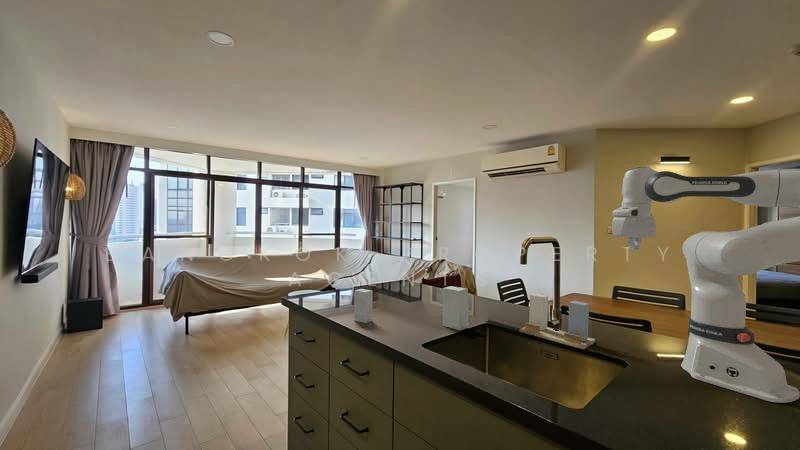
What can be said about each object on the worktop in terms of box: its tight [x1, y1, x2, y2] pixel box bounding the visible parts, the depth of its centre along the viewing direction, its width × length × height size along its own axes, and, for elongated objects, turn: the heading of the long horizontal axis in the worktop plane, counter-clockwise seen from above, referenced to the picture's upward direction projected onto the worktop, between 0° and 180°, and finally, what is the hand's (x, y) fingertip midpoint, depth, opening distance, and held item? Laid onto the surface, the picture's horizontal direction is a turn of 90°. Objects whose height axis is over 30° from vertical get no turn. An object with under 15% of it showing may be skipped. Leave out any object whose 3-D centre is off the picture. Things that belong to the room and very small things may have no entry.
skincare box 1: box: [353, 288, 374, 324], centre depth 136 cm, size 6×4×12 cm
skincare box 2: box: [441, 285, 469, 331], centre depth 131 cm, size 8×6×15 cm
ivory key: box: [528, 293, 549, 330], centre depth 129 cm, size 4×5×12 cm
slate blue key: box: [567, 300, 590, 341], centre depth 118 cm, size 4×5×12 cm
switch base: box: [519, 322, 596, 350], centre depth 123 cm, size 10×22×3 cm, turn 43°
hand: (634, 249), depth 127 cm, fingers closed
